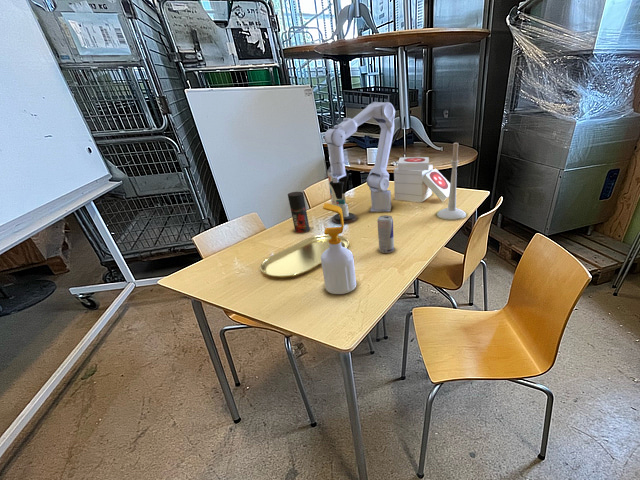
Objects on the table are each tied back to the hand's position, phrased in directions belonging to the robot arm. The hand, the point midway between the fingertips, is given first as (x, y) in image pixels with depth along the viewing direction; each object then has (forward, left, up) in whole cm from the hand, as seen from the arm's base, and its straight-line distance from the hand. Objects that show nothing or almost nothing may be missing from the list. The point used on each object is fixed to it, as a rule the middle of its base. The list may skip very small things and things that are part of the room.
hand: (341, 196), depth 143 cm
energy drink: (-22, +32, -11) cm, 40 cm away
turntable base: (0, 0, -10) cm, 10 cm away
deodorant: (+15, +13, -11) cm, 22 cm away
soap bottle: (-11, +58, -11) cm, 60 cm away
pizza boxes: (-35, -32, -11) cm, 49 cm away
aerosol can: (+7, -20, -11) cm, 24 cm away
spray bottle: (0, 0, -9) cm, 9 cm away
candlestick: (-48, -6, -11) cm, 49 cm away
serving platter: (+5, +38, -11) cm, 40 cm away
